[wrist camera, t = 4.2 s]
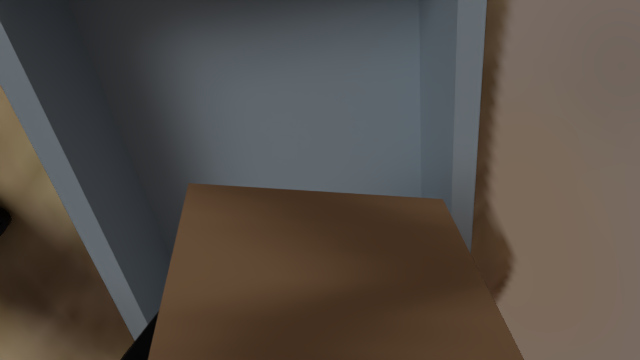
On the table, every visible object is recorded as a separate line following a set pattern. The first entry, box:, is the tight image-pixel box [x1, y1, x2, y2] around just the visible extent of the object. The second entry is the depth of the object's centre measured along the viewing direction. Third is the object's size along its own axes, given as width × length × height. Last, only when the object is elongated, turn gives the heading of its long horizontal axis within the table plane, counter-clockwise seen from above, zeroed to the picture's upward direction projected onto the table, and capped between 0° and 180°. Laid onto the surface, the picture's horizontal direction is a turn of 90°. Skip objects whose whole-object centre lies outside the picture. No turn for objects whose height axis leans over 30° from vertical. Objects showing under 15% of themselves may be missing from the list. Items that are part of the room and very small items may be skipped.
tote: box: [0, 0, 487, 341], centre depth 19 cm, size 18×14×5 cm
